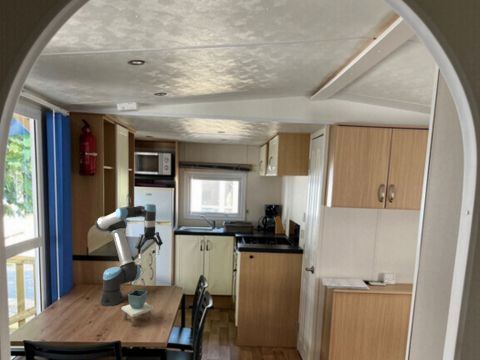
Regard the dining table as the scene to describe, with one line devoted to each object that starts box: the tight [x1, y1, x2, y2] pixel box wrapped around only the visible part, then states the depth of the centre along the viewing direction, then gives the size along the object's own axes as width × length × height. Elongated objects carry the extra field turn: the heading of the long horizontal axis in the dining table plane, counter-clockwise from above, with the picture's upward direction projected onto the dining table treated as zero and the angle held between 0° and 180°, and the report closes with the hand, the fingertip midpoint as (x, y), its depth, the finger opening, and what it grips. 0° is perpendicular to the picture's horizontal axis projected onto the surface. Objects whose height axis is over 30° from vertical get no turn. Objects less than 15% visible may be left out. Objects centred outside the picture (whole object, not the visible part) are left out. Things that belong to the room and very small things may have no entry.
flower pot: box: [127, 289, 148, 309], centre depth 179 cm, size 9×9×9 cm
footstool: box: [121, 301, 154, 327], centre depth 179 cm, size 14×14×8 cm
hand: (149, 256), depth 199 cm, fingers open, 13 cm apart
